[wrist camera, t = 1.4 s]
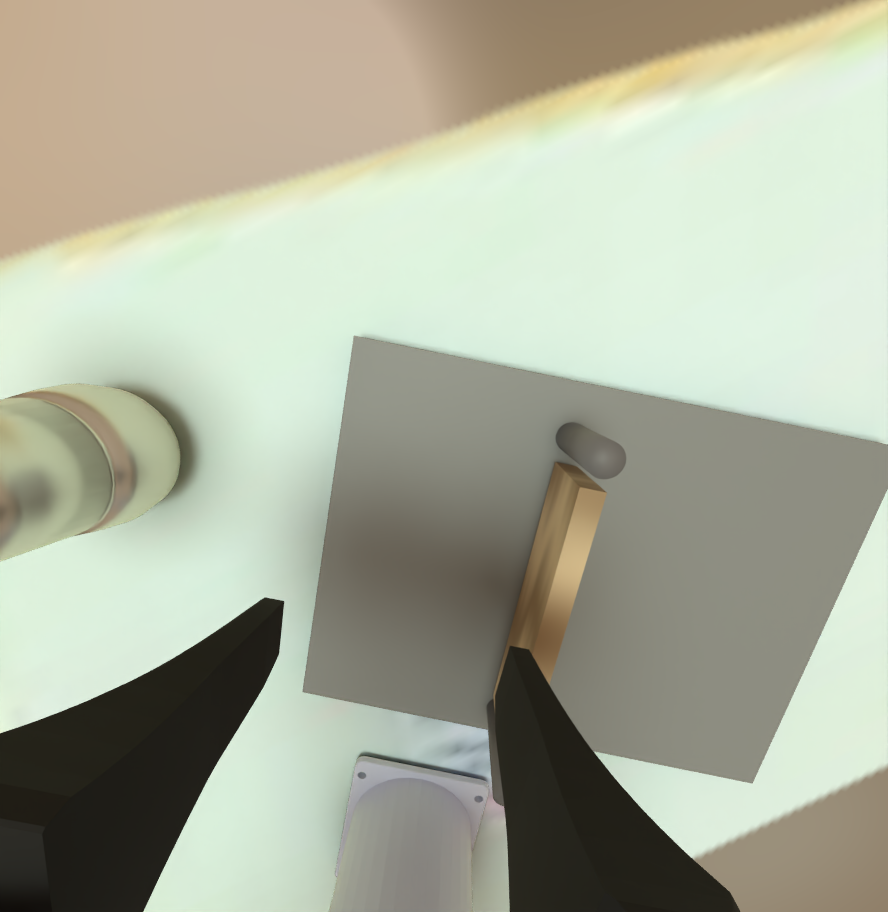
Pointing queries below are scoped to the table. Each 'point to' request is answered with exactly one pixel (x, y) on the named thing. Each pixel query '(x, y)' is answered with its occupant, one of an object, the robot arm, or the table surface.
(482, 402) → the gate board
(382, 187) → the table surface
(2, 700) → the table surface
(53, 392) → the plastic bottle
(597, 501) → the board
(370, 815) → the robot arm
